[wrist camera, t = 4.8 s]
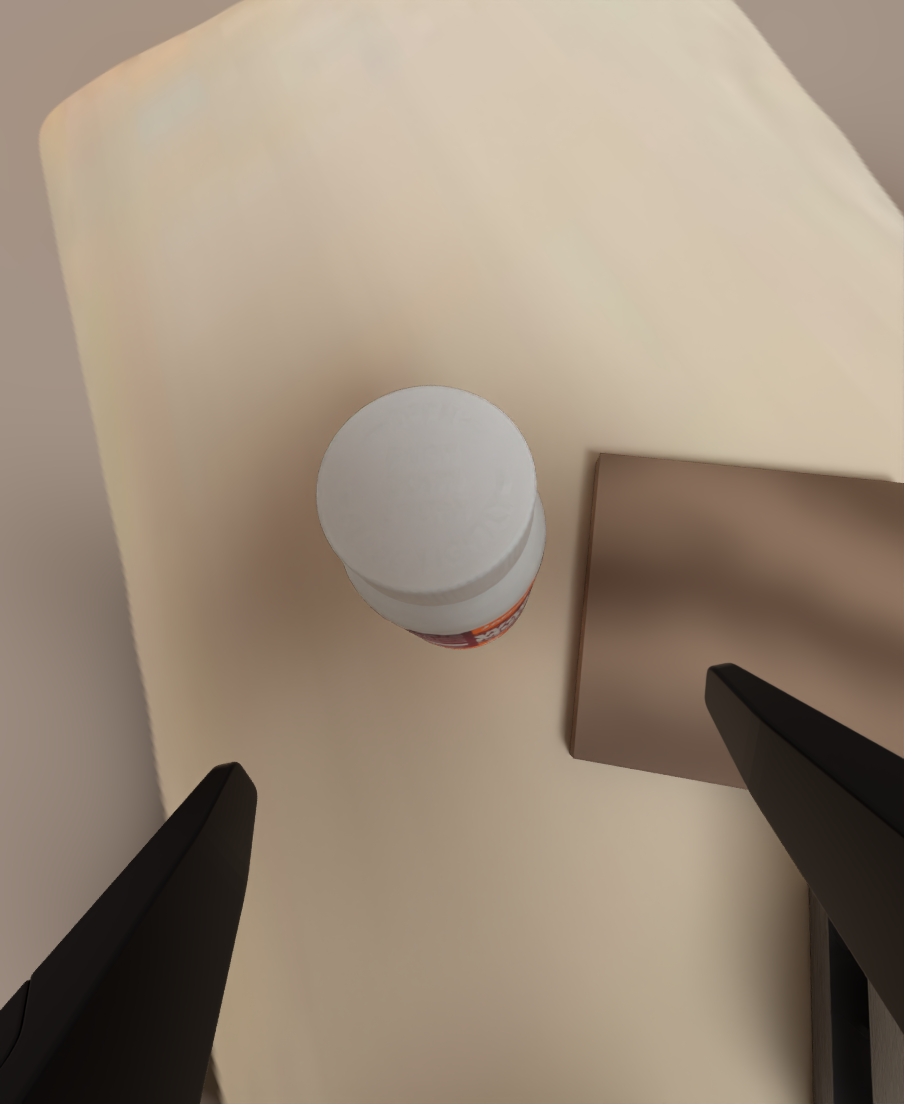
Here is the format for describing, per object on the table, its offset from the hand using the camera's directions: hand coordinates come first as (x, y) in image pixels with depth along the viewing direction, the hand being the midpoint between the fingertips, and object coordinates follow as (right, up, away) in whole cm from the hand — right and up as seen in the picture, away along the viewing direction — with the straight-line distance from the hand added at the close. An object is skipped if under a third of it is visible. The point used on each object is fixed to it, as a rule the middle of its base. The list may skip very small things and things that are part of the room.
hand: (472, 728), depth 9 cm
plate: (+12, +1, +11) cm, 16 cm away
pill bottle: (0, +2, +13) cm, 13 cm away
